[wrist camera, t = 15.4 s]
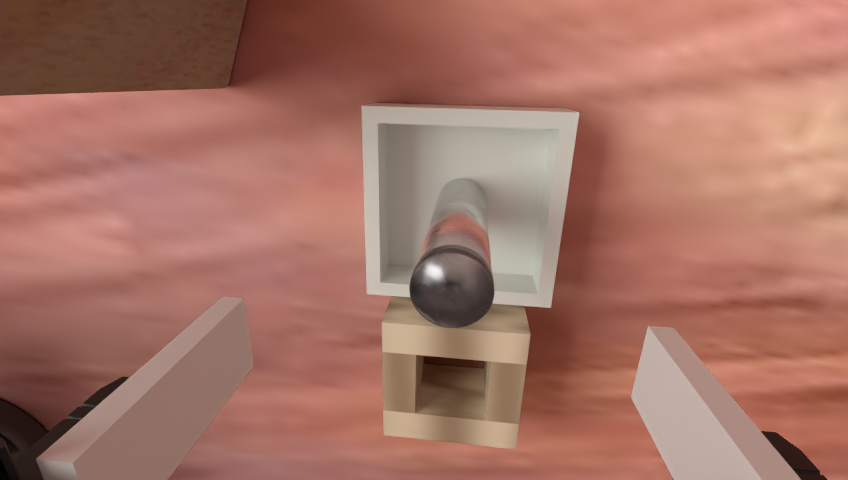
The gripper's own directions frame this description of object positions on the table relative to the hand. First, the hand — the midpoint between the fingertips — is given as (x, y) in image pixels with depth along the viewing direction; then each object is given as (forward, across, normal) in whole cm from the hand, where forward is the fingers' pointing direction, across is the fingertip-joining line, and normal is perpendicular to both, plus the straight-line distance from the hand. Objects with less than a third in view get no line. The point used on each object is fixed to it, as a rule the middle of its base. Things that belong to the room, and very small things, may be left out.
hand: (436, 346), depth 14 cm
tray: (+19, +1, 0) cm, 19 cm away
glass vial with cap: (+18, +1, 0) cm, 18 cm away
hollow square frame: (+19, +1, -12) cm, 22 cm away
